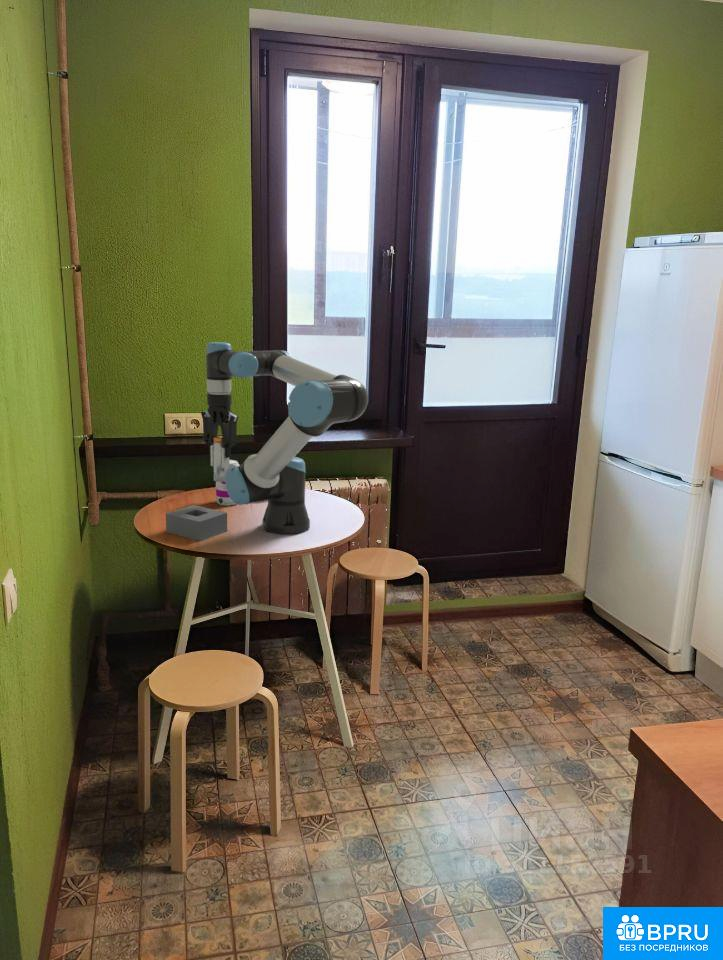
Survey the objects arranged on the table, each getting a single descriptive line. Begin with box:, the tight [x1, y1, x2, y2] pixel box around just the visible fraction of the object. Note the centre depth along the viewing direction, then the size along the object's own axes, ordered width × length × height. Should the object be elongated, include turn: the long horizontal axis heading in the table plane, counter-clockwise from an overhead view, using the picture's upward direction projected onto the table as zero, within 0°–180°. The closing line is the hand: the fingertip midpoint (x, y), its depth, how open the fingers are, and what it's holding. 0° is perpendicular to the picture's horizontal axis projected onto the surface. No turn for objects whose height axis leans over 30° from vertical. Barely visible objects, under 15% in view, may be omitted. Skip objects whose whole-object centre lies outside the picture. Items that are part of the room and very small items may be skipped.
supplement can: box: [215, 459, 240, 507], centre depth 259 cm, size 8×8×15 cm
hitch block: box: [165, 504, 228, 542], centre depth 228 cm, size 14×12×6 cm
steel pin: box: [213, 435, 227, 483], centre depth 234 cm, size 4×4×14 cm
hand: (220, 466), depth 234 cm, fingers closed on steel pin, 4 cm apart
